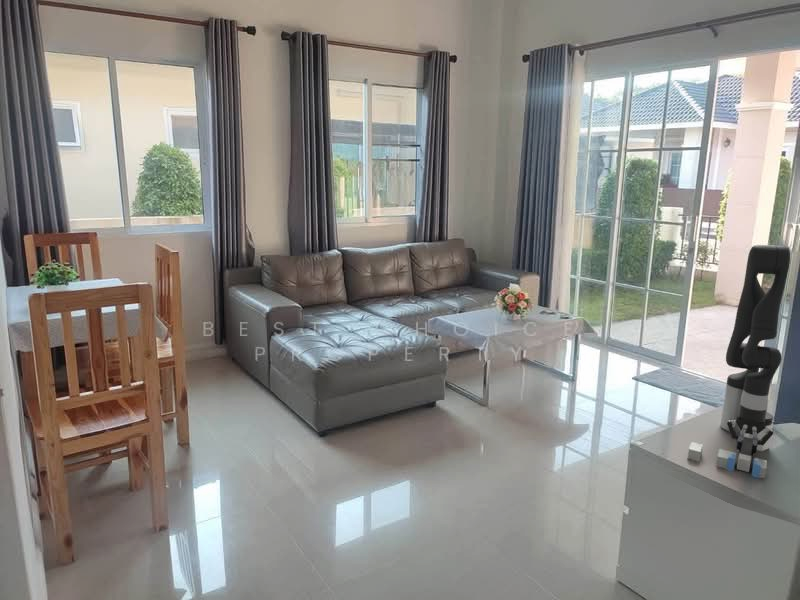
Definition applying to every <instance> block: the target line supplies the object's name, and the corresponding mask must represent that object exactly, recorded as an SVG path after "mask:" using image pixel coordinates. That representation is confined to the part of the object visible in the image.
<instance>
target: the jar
mask: <svg viewBox="0 0 800 600" xmlns="http://www.w3.org/2000/svg"><path fill="white" fill-rule="evenodd" d="M773 419H774V417H773V415H772V414H771V413H769V412H767V411H766V417H765V424H766V427H768V428H770V429H773V428H774V423H773ZM773 430H774V429H773ZM764 435H765V430H763V431H761V432H760V433H758V440H761V439H762V437H763V436H764ZM744 437H747V438H751V439H753V435H751V434H746V433H745V434H744ZM771 439H772V436H771V437H770V438H769V439H768V441H767V442H766V443H765V444H764V445H758V446H757V450H756V452H757V451H758V452H763V451H767V450H768V449H770V445H771V441H772V440H771ZM742 440H743V439H742Z"/></svg>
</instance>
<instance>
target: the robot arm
mask: <svg viewBox="0 0 800 600" xmlns="http://www.w3.org/2000/svg"><path fill="white" fill-rule="evenodd" d="M790 264H791V251H790V248H789V247H787V246H786V245H773V244H770V245H769V244H755V245H753V246H751V248H750V249H749V253H748V256H747V261H746V269H745V276H744V280H743V281H744V282H743V287H742V291H741V295H740V298H739V301H738V307H737V310H736V316H735V321H734V325H733V329H732V330H733V331H732V334H731V337H730V340H729V343H728V345H727V349H726V354H725V362H726V364H727V365H728V366H729V367H732V368H737V369H744V370H743V371H742V372H741V371H740V372H737V373H733V374H729V375H728V376H727V379H726V385H725V392H724V399H723V405H722V412H721V418H720V428H722V429H723V430H725V431H727V432H729V433H730V436H731V438H732V439H734V440H736V441H737V442H736V451H737V450H738V453H740V451H741V446H742V442H743V440H742V439H743V437H744V434H745V433H746V434H751V435H753V444H752V452H751V456H754V455H756V454H757V446H758V445H764V444H765V443H766V442H767V441H768V439H769V438H770V437H771V438H772V436H773V435H774V431H775V430H774V429H770V428H768V427H766V424H765V417H766V412H767V411H768V407H769V406H768V403H769V393H770V386H771V383H772V380H773V378H774V376H775V374H776V372H777V370H779V367H780V365H781V363H782V353H781V351H780V350H779V349H778V348H776V347H774V346H773V347H771V346H763V345H762V346H761V345H760V343H761V342H762V341H767V340H768V341H771V340H774V339H776V338H777V334H778V325H779V313H780V307H781V305H782V299H783V295H784V291H785V288H786V282H787V277H788V274H789V270H790V269H789V268H790ZM759 274H761V275H762V274H766V275H774V279H773V282H772V284H771V286H770V288H769V289H768V290H767V292H765V291H764V289H763V287H762V286H761V284H760V282H759V281H760V280H759V278H758V275H759ZM747 338H748V340H747V342H746V343H745V342H744V341H745V340H746V339H747ZM760 369H761V370H760ZM763 430H765V435H764V436H763V437H762V439H761V440H758V433H760V432H761V431H763Z"/></svg>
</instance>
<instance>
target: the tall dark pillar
mask: <svg viewBox="0 0 800 600" xmlns="http://www.w3.org/2000/svg"><path fill="white" fill-rule="evenodd" d="M752 444H753V439H751V438H747V437H743V442H742V446H741V451H740V452H738V453H739V454H738V459H737V465H736V469H737V470H739V471H743V472H746V473H750V468H751V462H752V455H751V452H752Z"/></svg>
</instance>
